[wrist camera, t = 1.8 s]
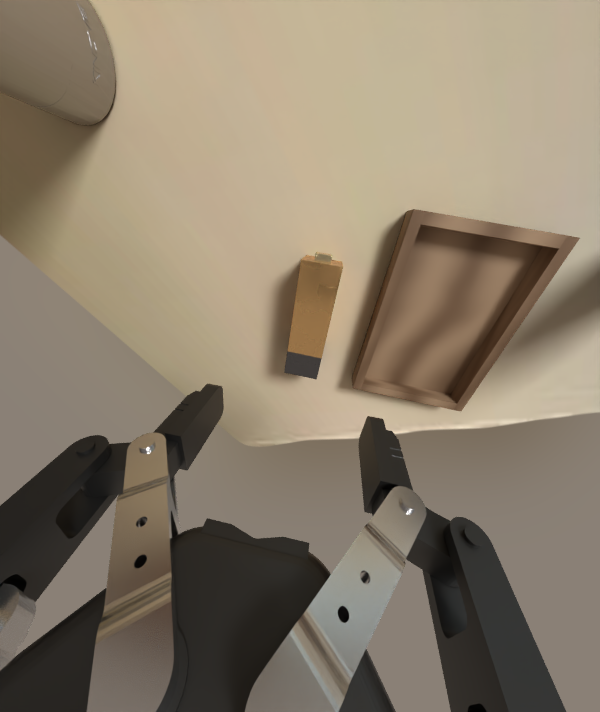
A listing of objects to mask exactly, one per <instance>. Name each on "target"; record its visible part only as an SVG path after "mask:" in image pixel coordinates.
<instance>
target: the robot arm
mask: <svg viewBox="0 0 600 712" xmlns="http://www.w3.org/2000/svg"><path fill="white" fill-rule="evenodd" d="M0 92H1V93H3V94H6V95H8V96H10V97H13V98H15V99H18V100H20V101H23V102H25V103H27V104H30V105H32V106H34V107H37V108H39V109H42V110H44V111H47V112H49V113H52V114H54V115H57V116H59V117H61V118H64V119H66V120H69V121H71V122H74V123H76V124H81V125H92V124H96V123H97V122H99V121H101V120H102V119H103V118H104V117H105V116H106V115H107V114H108V112H109V110H110V108H111V105H112V103H113V98H114V94H115V68H114V60H113V56H112V52H111V47H110V44H109V41H108V38H107V35H106V33H105V30H104V27H103V25H102V23H101V21H100V19H99V17H98V15H97V13H96V11H95V9H94V8H93V6H92V5H91V3H90V2H89V0H0ZM222 413H223V389H222V386H218V385H213V384H207V385H205V387H204V388H203V389H202V390H201V391H200V392H199V391H195V392H193V393H191V394H190V395H188V396H187V397H186V398H185V399H184V400H183V401H182V402H181V404H179V405H178V406H177V408H175V410H174V411H173V412H172V413H171V414H170V415H169V416H168V417H167V418H166V419H165V420H164V422H163V423H162V424H161V425H160V426H159V427H158V428H157V429H156V430H155V431H154V432H153V433H147V434H144V435H142V436H140V437H138V438H136V439H135V440H134V441H132V442H131V443H117V444H109V442H108V440H107V438H105V437H104V436H100V435H95V436H89V437H86V438H83V439H80V440H79V441H77V442H75V443H73V444H72V445H71V446H69V447H68V448H67V449H66V450H65V451H64V452H62V453H61V454H60V455H59V456H58V457H57V458H55V459H54V460H53V461H52V462H51V463H50V464H48V465H47V466H46V467H45V468H44V469H43V470H41V471H40V472H39V473H38V474H37V475H36V476H34V477H33V478H32V479H31V480H30V481H29V482H27V483H26V484H25V485H24V486H23V487H22V488H20V489H19V490H18V491H17V492H16V493H15V494H13V495H12V496H11V497H10V498H9V499H8V500H7V501H5V502H4V503H3V504H2V505H1V506H0V712H396V711H395V709H394V707H393V705H392V703H391V701H390V699H389V696H388V694H387V692H386V690H385V688H384V686H383V683H382V682H381V679H380V677H379V675H378V673H377V671H376V668H375V666H374V664H373V662H372V660H371V658H370V656H369V654H368V651H367V649H366V648H367V646H368V643H369V641H370V639H371V637H372V635H373V633H374V631H375V629H376V627H377V625H378V622H379V620H380V618H381V616H382V614H383V612H384V610H385V608H386V606H387V603H388V601H389V599H390V597H391V595H392V593H393V591H394V588H395V587H396V585H397V582H398V580H399V578H400V576H401V574H402V572H403V569H404V567H405V560H406V559H407V560H408V561H410V562H411V563H413V564H415V565H416V566H418V567H419V568H421V569H422V570H423V575H424V579H425V584H426V589H427V594H428V599H429V604H430V609H431V614H432V619H433V624H434V629H435V634H436V639H437V644H438V649H439V654H440V659H441V664H442V669H443V674H444V679H445V684H446V689H447V694H448V699H449V704H450V709H451V712H566V710H565V708H564V706H563V703H562V701H561V699H560V697H559V694H558V692H557V690H556V688H555V685H554V683H553V681H552V679H551V676H550V674H549V672H548V669H547V667H546V665H545V663H544V660H543V659H542V656H541V654H540V651H539V649H538V647H537V645H536V642H535V640H534V638H533V636H532V633H531V631H530V629H529V626H528V624H527V622H526V620H525V617H524V615H523V613H522V611H521V608H520V606H519V604H518V602H517V599H516V597H515V595H514V593H513V590H512V588H511V586H510V583H509V581H508V579H507V577H506V574H505V572H504V570H503V568H502V566H501V563H500V561H499V559H498V556H497V554H496V552H495V550H494V547H493V545H492V543H491V541H490V539H489V538H488V536H487V535H486V534H485V532H484V531H483V530H482V529H481V528H480V527H479V526H477V525H476V524H475V523H473V522H472V521H470V520H468V519H466V518H463V517H455V518H453V519H452V520H451V521H449V520H447V519H445V518H443V517H442V516H440V515H438V514H436V513H434V512H432V511H431V510H429V509H428V508H426V507H425V505H424V503H423V501H422V500H421V499H420V497H419V496H418V495H417V494H416V493H415V492H413V489H412V486H411V483H410V479H409V475H408V472H407V468H406V465H405V462H404V459H403V454H402V452H401V447H400V444H399V440H398V439H397V438H396V436H395V435H394V433H393V432H392V431H388V430H386V428H385V424H384V420H383V419H380V418H375V417H370V416H368V417H367V419H366V421H365V424H364V427H363V429H362V432H361V435H360V438H359V456H360V467H361V478H362V488H363V500H364V510H365V512H367V513H372V515H373V517H372V519H371V520H370V521H369V523H368V524H367V525H366V526H365V527H364V528H363V530H362V531H361V533H360V534H359V535H358V537H357V538H356V540H355V541H354V542H353V544H352V545H351V547H350V548H349V550H348V551H347V552H346V554H345V555H344V557H343V558H342V560H341V561H340V562H339V564H338V565H337V567H336V568H335V570H334V571H333V572H332V574H330V572H329V571H328V569H327V568H326V567H325V566H324V564H323V563H322V562H321V561H320V560H319V559H318V558H316V557H315V556H314V555H313V554H311V553H310V552H308V549H309V543H307V542H303V541H298V540H294V539H290V538H286V537H275V538H261V539H255V538H253V537H251V536H249V535H248V534H246V533H245V532H243V531H241V530H240V529H238V528H237V527H235V526H233V525H232V524H228V523H223V522H220V521H216V520H211V519H207V520H206V522H205V524H204V526H203V527H197V528H193V529H190V530H187V531H184V532H182V533H181V532H180V524H179V518H178V509H177V497H176V485H175V477H174V476H175V474H176V473H177V471H178V470H179V469H183V470H188V469H189V467H190V465H191V464H192V462H193V461H194V459H195V458H196V456H197V454H198V453H199V451H200V450H201V448H202V446H203V445H204V443H205V442H206V440H207V439H208V437H209V435H210V434H211V432H212V430H213V429H214V427H215V425H216V424H217V423H218V421H219V420H220V418H221V416H222ZM117 495H118V498H117V503H116V511H115V519H114V529H113V537H112V545H111V553H110V562H109V570H108V580H107V588H105V589H104V590H103V591H101V592H100V593H99V594H97V595H96V596H95V597H93V598H92V599H91V600H89V601H88V602H87V603H86V604H84V605H83V606H82V607H80V608H79V609H78V610H76V611H75V612H74V613H72V614H71V615H70V616H68V617H67V618H66V619H64V620H63V621H62V622H60V623H59V624H58V625H56V626H55V627H54V628H52V629H51V630H50V631H49V632H47V633H46V634H45V635H43V636H42V637H41V638H39V639H38V640H37V641H35V642H34V643H33V644H31V645H30V646H29V647H27V648H26V649H25V650H23V651H22V652H21V653H20V654H18V655H17V656H16V657H15V653H16V651H17V648H18V647H19V646H20V644H21V643H22V642H23V641H24V639H25V638H26V636H27V633H28V629H29V628H30V626H31V623H32V622H33V619H34V616H35V612H36V605H35V602H36V600H37V599H38V598H39V597H40V595H41V594H42V593H43V591H44V590H45V588H47V586H48V585H49V584H50V582H51V581H52V580H53V578H54V577H55V576H56V574H57V573H58V572H59V571H60V569H61V568H62V567H63V565H64V564H65V563H66V562H67V560H68V559H69V558H70V556H71V555H72V554H73V552H74V551H75V550H76V549H77V547H78V546H79V545H80V543H81V541H83V539H84V538H85V537H86V536H87V534H88V533H89V532H90V530H91V529H92V528H93V527H94V525H95V524H96V523H97V521H98V520H99V518H100V517H101V516H102V515H103V513H104V512H105V511H106V510H107V508H108V507H109V506H110V504H111V503H112V502H113V500H114V499H115V498H116V497H117ZM14 657H15V658H14Z"/></svg>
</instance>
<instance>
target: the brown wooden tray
mask: <svg viewBox="0 0 600 712" xmlns="http://www.w3.org/2000/svg"><path fill="white" fill-rule="evenodd" d="M579 239H580V238H578V237H572V236H566V235H560V234H555V233H549V232H543V231H537V230H531V229H526V228H520V227H514V226H508V225H502V224H497V223H491V222H485V221H479V220H473V219H467V218H462V217H456V216H450V215H444V214H438V213H433V212H427V211H421V210H415V209H414V210H410V211H407V212H406V215H405V218H404V221H403V224H402V227H401V230H400V233H399V236H398V239H397V243H396V246H395V249H394V252H393V255H392V258H391V261H390V264H389V267H388V270H387V273H386V276H385V279H384V282H383V285H382V288H381V291H380V294H379V297H378V300H377V303H376V306H375V309H374V312H373V315H372V318H371V321H370V324H369V327H368V330H367V333H366V337H365V340H364V343H363V346H362V349H361V352H360V355H359V358H358V361H357V364H356V367H355V370H354V373H353V376H352V383H353V388H354V389H359V390H364V391H368V392H373V393H378V394H382V395H387V396H392V397H396V398H401V399H406V400H410V401H415V402H420V403H424V404H429V405H433V406H438V407H443V408H447V409H452V410H457V411H462V409H463V408H464V406H465V405H466V404H467V402H468V401H469V399H470V398H471V396H472V395H473V393H474V392H475V390H476V389H477V388H478V386H479V385H480V383H481V382H482V380H483V379H484V377H485V376H486V374H487V373H488V371H489V370H490V369H491V367H492V366H493V364H494V363H495V361H496V360H497V358H498V357H499V355H500V354H501V352H502V351H503V350H504V348H505V347H506V345H507V344H508V342H509V341H510V339H511V338H512V336H513V335H514V333H515V332H516V331H517V329H518V328H519V326H520V325H521V323H522V322H523V320H524V319H525V317H526V316H527V315H528V313H529V312H530V310H531V309H532V307H533V306H534V304H535V303H536V301H537V300H538V298H539V297H540V296H541V294H542V293H543V291H544V290H545V288H546V287H547V285H548V284H549V282H550V281H551V279H552V278H553V277H554V275H555V274H556V272H557V271H558V269H559V268H560V266H561V265H562V263H563V262H564V260H565V259H566V258H567V256H568V255H569V253H570V252H571V250H572V249H573V247H574V246H575V244H576V243H577V242H578V240H579Z"/></svg>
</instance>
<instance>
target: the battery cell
mask: <svg viewBox="0 0 600 712" xmlns="http://www.w3.org/2000/svg"><path fill="white" fill-rule="evenodd" d="M331 259H332V255H330V254H325V253H319V252H316V254H315V257H314V256H309V255H306V256H305V257H304V258H302V259H301V263H300V270H299V277H298V283H297V290H296V297H295V304H294V311H293V318H292V324H291V331H290V338H289V345H288V352H287V358H286V365H285V373H289V374H294V375H299V376H303V377H308V378H313V379H317V375H318V371H319V366H320V362H321V358H322V354H323V349H324V345H325V341H326V337H327V332H328V328H329V324H330V320H331V315H332V311H333V307H334V303H335V299H336V294H337V290H338V286H339V282H340V277H341V273H342V269H343V265H342V262H341V261H335V260H331Z"/></svg>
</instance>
